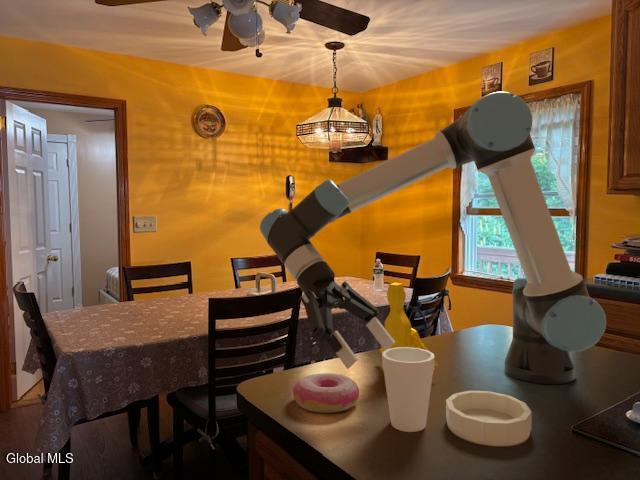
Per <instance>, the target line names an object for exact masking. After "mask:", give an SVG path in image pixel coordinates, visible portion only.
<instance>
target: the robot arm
mask: <svg viewBox="0 0 640 480" xmlns="http://www.w3.org/2000/svg"><path fill="white" fill-rule="evenodd" d="M532 114H533V113H532V111H531V109H530V107H529V105H528V103H527V102H526V101H525V100H524V99H522V97H520V96H518V95H517V94H514V93H512V92H508V91H496V92H495V91H494V92H492V93H489V94H485V95H484V96H483V97H481V98H479V99H477V100H476V101H474V102H473V104H472V105H470V107H469V108H468V109H467V110H466V111H465V112H464V113H463V114H462V115H461V116H459V117H458V118H457V119H456V120H455V121H453V122H451V124H449V125H447V126H445V127H444V128H442V129H440V130H438V131H436V133H435V136H434V137H433V138H431V139H429V140H427V141H424V142H423V143H420V144H419V145H417V146H414V147H413V148H411V149H408V150H406V151H404V152H402V153H399V154H397V155H396V156H394V157H391V158H390V159H387V160H385V161H383V162H382V163H380V164H377V165H375V166H374V167H371V168H369V169H366V170H364V171H363V172H360V173H358V174H357V175H354V176H352V177H350V178H348V179H345V180H344V181H342V182H340V183H337V184H336V183H335V182H334V180H332V179H329V178H328V179H325V180H324V181H323V182H322V183H320V184H319V185H317V186H316V187H314V189H313V190H312V191H311V192H310V193H308V194H307V195H306V196H305V197H304V198H303V199H302V200H301V201H300V202H298V204H296V205H295V206H294V207H293V208H292V209H290V210H289V211H287V209H285V208H276V209H274V210H273V211H272V212H270V211H269V212H267V214H266V215H265V216H264V217H263V218H262V220H261V222H260V225H259V231H260V233H261V234H262V235H263V237H264V240H265V241H266V243H267V245H268V246H269V247H270V248H271V250H273V252H274V253H275V255H276V256H277V258H278V259H279V260H280V262H281V263H282V264H283V265H284V267H285V268H286V270H287V271H288V273H289V274H290V275H291V277H292V278H293V279H294V280H295V281H296V284H297V285H298V287H299V288H300V290H301V291H302V292H303V294H302V295H301V296H300V298H299V300H300V301H301V303H302V305H303V306H304V309H305V312H306V316H307V321H308V324H309V328H310V331H311V334H312V337H313V339H314V340H318V341H319V342H320V343H323V342H325V341H326V343H327V344H328V345H329V347H330V348H331V350H332V351H333V352H334V353H335V354H336V355H337V356H338V359H339V360H340V361H341V362H342V364H343V365H344V366H345V368H346V370H348V369H350V368H351V367H352V366H353V365H354V364H355V363H356V362H357V361H359V359H358V357H357V355H356V354H355V353H354V352H353V350H352V349H351V347H350V346H349V345H348V343H347V342H346V341H345V339H344V338H343V336H342V335H341V333H340V332H339V331H338V330H334V326H333V325H334V324H333V312H332V311H333V309H339V310H345V311H347V312H349V313H350V314H352V315H354V316H355V317H357V318H359V319H360V320H362V321H364V322H366V323H367V324H366V325H365V326H366V327H367V328H368V329H369V331H370V333H371V334H372V335H373V337H374V338H375V339H376V340H377V342H378V343H379V344H380V346H381V347H383V348H384V350H388V349H389V348H390V347H391V346H392V345H393V344H394V343H395V341H394V340H393V338H392V337H391V336H390V335H389V333H388V332H387V331H386V329H385V326H384V325H383V323H382V322H381V321H380V320H379V319H378V316H379V314H380V310H379V309H378V308H377V307H376V306H375V305H373V303H371V302H370V301H369V300H367V299H366V298H365V297H364V296H362V295H361V294H360V293H358V292H357V291H356V290H355V289H354V288H352V286H351V285H350V284H349V283H348V281H346V280H345V281H343V282H342V283H341V284H338V283H336V281H335V276H336V273H335V272H334V270H333V269H332V268H331V266H330V265H329V264H328V262H327V261H325V260H324V257H323V255H322V254H321V253H320V252H319V251H318V249H317V248H316V247H315V246H314V244H313V243H312V242H311V241H310V240H311V239H312V238H314V237H315V236H316V234H318V233H319V232H320V231H322V230H323V229H324V228H325V227H326V226H327V225H328V224H331V223H333V222H335V221H337V220H339V219H340V218H343V217H345V216H347V215H350V213H353V212H355V211H357V210H359V209H361V208H364V207H366V206H368V205H371V204H372V203H374V202H377V201H379V200H381V199H383V198H385V197H387V196H389V195H392V194H394V193H395V192H397V191H400V190H402V189H404V188H406V187H408V186H410V185H412V184H415V183H417V182H419V181H421V180H423V179H425V178H428V177H430V176H433V175H434V174H436V173H438V172H440V171H443V170H445V169H447V168H450V169H452V170H455V169H457V168H459V167H461V166H463V165H467V164H469V163H472V162H473V163H474V164H475V165H474V166H475V167H476V169H477V172H479V173H482V174H484V175H486V177H488V180H489V183H490V185H491V188H492V191H493V193H494V196H495V199H496V201H497V204H498V207H499V210H500V212H501V215H502V218H503V221H504V223H505V226H506V228H507V231H508V234H509V237H510V239H511V242H512V244H513V248H514V250H515V253H516V256H517V258H518V260H519V263H520V266H521V269H522V272H523V275H524V277H518V278H515V279H514V280H513V286H512V290H511V294H512V339H511V342H510V345H509V348H508V350H507V353H506V356H505V358H504V372H505V373H506V374H507V375H509V377H512V378H514V379H517V380H520V381H524V382H527V383H528V382H529V383H533V384H540V385H541V384H542V385H563V384H568V383H571V382H573V381H574V380H575V379H576V376H575V371H576V368H575V365H574V362H573V359H572V357H571V353H577V352H583V351H586V350H587V349H591V348H593V346H595V345H596V344H597V343H598V342H599V341H600V340H601V338H602V336H603V334H605V331H606V329H607V328H606V327H607V315H606V313H605V311H604V309H603V307H602V306H601V304H599V302H598V301H597V300H596V299H594V298H593V297H591V296H590V294H589V292H588V289H587V286H586V283H585V281H584V278H583V276H582V275H581V274H579V273H578V272H575V271H573V270H572V269H571V267H570V264H569V261H568V258H567V256H566V253H565V251H564V247H563V244H562V243H561V240H560V237H559V234H558V232H557V229H556V226H555V224H554V221H553V217H552V214H551V213H550V210H549V206H548V203H547V201H546V199H545V195H544V193H543V191H542V188H541V185H540V182H539V180H538V177H537V174H536V172H535V169H534V166H533V163H532V157H533V156H534V153H535V151H536V147H535V144H534V142H533V138H532V136H531V132H532V128H533V115H532Z"/></svg>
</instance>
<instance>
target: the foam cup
mask: <svg viewBox="0 0 640 480" xmlns="http://www.w3.org/2000/svg"><path fill="white" fill-rule="evenodd" d="M381 354H382V355H381V360H382V361H381V368H382V370H383V375H384V384H385V390H386V396H387V403H388V411H389V420H390V424H391V426H392V427H393V428H394V429H396V430H399V431H401V432H407V433H414V432H419V431H423V430H424V429H425V428H426V425H427V421H428V420H427V419H428V414H429V406H430V405H429V404H430V399H431V397H430V396H431V389H432V384H433V383H432V381H433V373H434V371H435V367H434V360H435V353H433V352H431V351H430V350H429V349H427V350H424V349H420V348H412V347H397V348H391V349H388V350H385V351H383V353H381Z"/></svg>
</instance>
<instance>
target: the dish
mask: <svg viewBox="0 0 640 480" xmlns="http://www.w3.org/2000/svg"><path fill="white" fill-rule="evenodd" d="M532 412H533V411H532V410H531V409H530V407H529V406H528V405H527V403H526V402H524V401H522V400H519V399H517V398H515V397H513V396H511V395H508V394H503V393H499V392H494V391H491V390H488V391H487V390H465V391H461V392H456V393H453V394H452V395H451V396H449V397H448V398H447V399H445V418H446V426H447V428H448V430H450V432H451V434H454V435H455V436H457V437H459V438H460V439H462V440H464V441H467V442H469V443H473V444H477V445H481V446H488V447H496V448H497V447H499V448H500V447H502V448H504V447H513V446H517V445H521V444H523V443H525V442H527V440H529V438H530V436H531V435H530V434H531V431H532V414H533V413H532Z"/></svg>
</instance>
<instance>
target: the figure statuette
mask: <svg viewBox="0 0 640 480" xmlns="http://www.w3.org/2000/svg"><path fill="white" fill-rule="evenodd" d="M386 299H387V302H388V305H389V308H390V312H389V314H388V315H387V316H386V319H385V320H384V328H385V329H386V331H387V332H388V333H389V335H390V336H391V337H392V338H393V340H394V341H395V343H394V344H393V345H392V346H391V347H390V348H389V349H391V348H397V347H412V348H420V349H424V350H428V348H427V347H426V346H425V345H424V342H423V341H422V339H421V337H420V335H419V332H418V331H417V330H416V329H415V328H414V327H413V326H412V324H411V322H410V319H409V318H408V316H407V315H406V314H407V313H405V310H404V307H405V302H406V291H405V288H404V284H403V283H400V282H393V283H390V284H388V287H387V292H386ZM379 351H380V353H381V354H383V351H385V350H384V348H383V347H382V346H381V347H380V348H379ZM436 367H438V363H437V362H436V360H435V359H434V368H436Z"/></svg>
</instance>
